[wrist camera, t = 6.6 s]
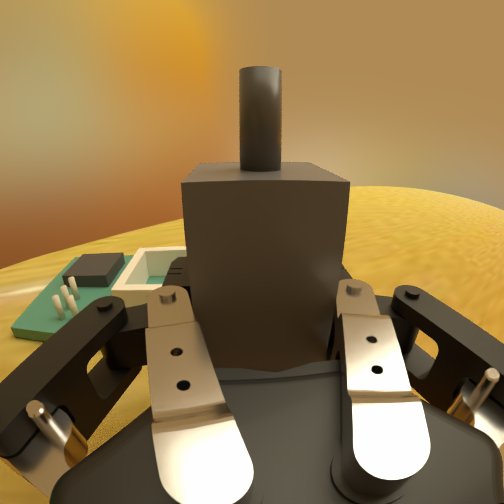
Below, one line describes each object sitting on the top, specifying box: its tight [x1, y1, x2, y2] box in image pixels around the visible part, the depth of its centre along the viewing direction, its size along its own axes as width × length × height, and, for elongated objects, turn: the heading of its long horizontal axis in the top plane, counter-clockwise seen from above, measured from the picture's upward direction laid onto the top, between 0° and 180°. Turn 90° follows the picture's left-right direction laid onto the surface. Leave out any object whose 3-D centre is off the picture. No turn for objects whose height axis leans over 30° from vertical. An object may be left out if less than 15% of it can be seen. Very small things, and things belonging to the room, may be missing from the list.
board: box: [11, 246, 187, 342], centre depth 24 cm, size 20×14×4 cm
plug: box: [181, 66, 350, 372], centre depth 10 cm, size 4×5×14 cm
